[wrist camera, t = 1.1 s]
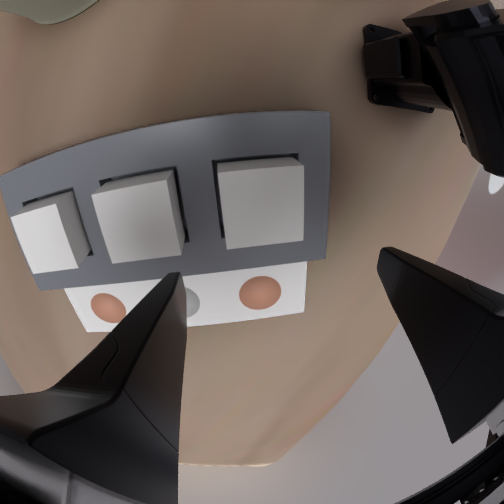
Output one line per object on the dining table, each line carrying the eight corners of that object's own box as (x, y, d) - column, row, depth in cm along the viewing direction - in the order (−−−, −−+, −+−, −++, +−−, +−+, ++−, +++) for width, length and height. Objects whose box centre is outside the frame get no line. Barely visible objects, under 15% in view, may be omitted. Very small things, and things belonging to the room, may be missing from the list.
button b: (292, 156, 16) (303, 165, 13) (292, 223, 18) (303, 240, 16) (217, 163, 15) (217, 172, 13) (225, 230, 17) (226, 249, 15)
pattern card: (306, 255, 22) (307, 258, 22) (303, 309, 25) (304, 312, 25) (63, 283, 21) (62, 286, 20) (88, 329, 24) (86, 332, 24)
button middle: (173, 169, 15) (166, 180, 13) (185, 236, 17) (181, 255, 15) (106, 182, 15) (91, 194, 13) (122, 244, 17) (112, 263, 15)
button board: (313, 110, 17) (330, 111, 14) (312, 238, 22) (325, 258, 19) (19, 166, 15) (-3, 177, 12) (53, 270, 20) (39, 290, 17)
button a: (73, 190, 15) (55, 203, 13) (91, 249, 17) (78, 268, 15) (28, 203, 14) (10, 217, 12) (47, 256, 17) (33, 273, 14)
